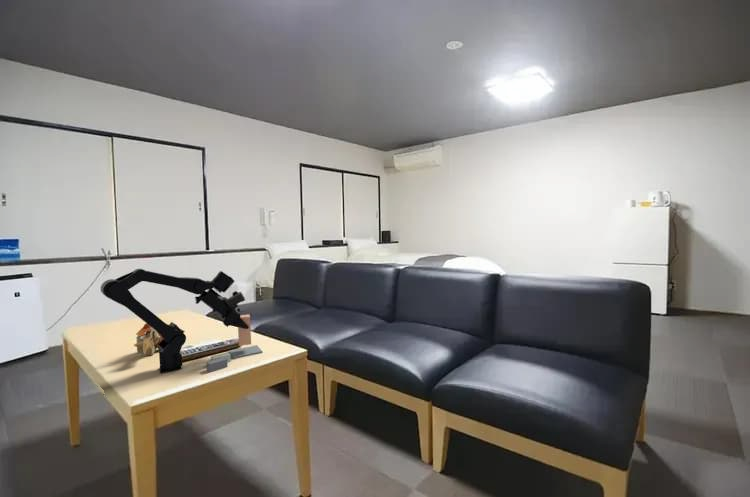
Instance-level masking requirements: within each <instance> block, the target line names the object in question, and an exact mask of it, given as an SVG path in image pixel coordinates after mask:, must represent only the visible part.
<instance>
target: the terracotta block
mask: <svg viewBox="0 0 750 497" xmlns="http://www.w3.org/2000/svg"><path fill="white" fill-rule="evenodd" d="M240 317H241V318H242V320H243V321H244V322H245V323H246V324H247V325H248V326H249V328H248V329H244V328H239V327H237V329H238V330H237V332H238V333H237V334H238V337H237V338H238V346H240V347H243V346H249V345H250V346H251V345H252V333H251V331H252V330H251V329H252V328H251V316H250V314H241V315H240Z"/></svg>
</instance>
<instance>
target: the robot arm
mask: <svg viewBox="0 0 750 497" xmlns="http://www.w3.org/2000/svg"><path fill="white" fill-rule="evenodd" d="M142 282H146V283H152V284H155V285H162V286H168V287H172V288H178V289H179V290H180V289H181V290H183V291H186V292H188V293H192V294H194V295H197V296H195V297H194V300H195V304H196V305H198V304H199V303H201V302H202V303H203V304H205V305H206V306H207V307H208V308H211V309H212V312H213V313H216V314H218V316H220V317H221V319H223V320H222V322H223V325H224V326H225V327H227V328H228V327H230V326H231V327H235V328H238V327H239V328H244V329H248V328H249V326H248V325H247V324H246V323H245V322H244V321H243V320H242V318H241V317H240V315H242V314H241V311H240V307H239V304H240V303H243V302H244V301H246V299H245V296H244V294H243V292H242V291H237V290H235V291H233V292H232V293H231V294H232V295H231V296H230V297H228V298H227V297H225V296H224V297H223V296H221V293H226V292H227V291H228V290H229V289H230V287H231V286H232V285H233V284H234V283H235V280H234V278H233V277H232V276H230V275H228V274H226V273H225V272H224V271H219V272H218V273H217V275H216V276H214V277H213V279H211V280H204V279H202V278H198V277H187V276H186V277H185V276H184V277H181V276H180V277H179V276H174V275H169V274H164V273H159V272H155V271H150V270H149V271H148V270H146V269H142V268H137V269H134V270H133V271H131V272H129V273H126V274H124V275H122V276H119V277H117V278H115V279H113V278H112V279H111V278H110V279H108V280H105V281H103V283H102V284H101V286H100V293H102V295H104V297H106V298H108V299H110V300H112V301H114V302H116V303H117V304H119V305H121V306H124V307H125V308H127V309H128V310H129V312H130V311H131V313H133V314H134V315H136V316H137V317H138V318H139V319H141V320H142V321H143V322H144V323H145V324H146V323H147V324H148V325H149V326H151V327H152V328H153V329H155V330H156V331H157V335H158V336H159V337H160V338H162V340H161V341H160V343H159V344H158V345H157V347H158V348H157V349H158V351H159V353H158V354H159V355H158V356H159V374H163V373H167V372H169V373H170V372H172V371H177V370H182V366H183V354H182V352H181V351H182V348H183V346H184V344H185V343H186V341H187V336H186V334H185V332H186V331H185V330H184V329H182V328H180V327H179V326H178V325H177V324H176V323H174V322H172V321H171V322H170V323H169V324H168V323H166V322H165V321H163V320H162V319H161V318H160V317H159V316H157V315H156V314H155V313H153V312H152V311H151V310H150V309H148V308H147V307H146V306H145V305H144V304H143V303H141V302H140V301H139V300H138V299H137V298H135V297H134V296H133V294H132V293H131V291H130V289H132V288H134V287H135V286H136V285H138V284H140V283H142ZM198 295H199V296H198ZM236 308H237V309H236Z"/></svg>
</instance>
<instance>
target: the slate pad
mask: <svg viewBox="0 0 750 497" xmlns="http://www.w3.org/2000/svg"><path fill="white" fill-rule="evenodd" d="M228 353H229V354H230V355H231V358H232V359H233V360H234V359H238V358H244V357H248V356H252V355H258V354H263V350H262V349H261V348H260V347H259V345H252V346H251V345H250V346H245V347H241V348H235V349H232V350H228Z"/></svg>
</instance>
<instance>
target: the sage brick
mask: <svg viewBox="0 0 750 497" xmlns="http://www.w3.org/2000/svg"><path fill="white" fill-rule="evenodd" d="M223 357H224V358H226V359H227V364H228V363H231V361H232V359H231V358H232V356H231V355H230V353H229V351H228V352H224V353H219V354H215V355H212V356H210V361H212V360H216V359H219V358H223Z"/></svg>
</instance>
